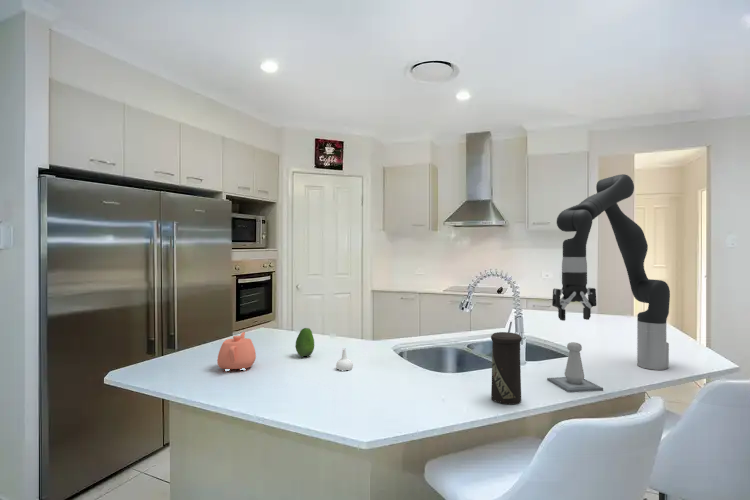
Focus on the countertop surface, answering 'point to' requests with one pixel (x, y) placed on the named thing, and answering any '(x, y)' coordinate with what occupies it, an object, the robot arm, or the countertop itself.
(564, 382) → the coaster
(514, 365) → the container
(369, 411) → the countertop surface
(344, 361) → the garlic bulb
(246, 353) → the teapot
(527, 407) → the countertop surface
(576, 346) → the grey rounded lobed piece
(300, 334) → the fruit
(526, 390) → the countertop surface
